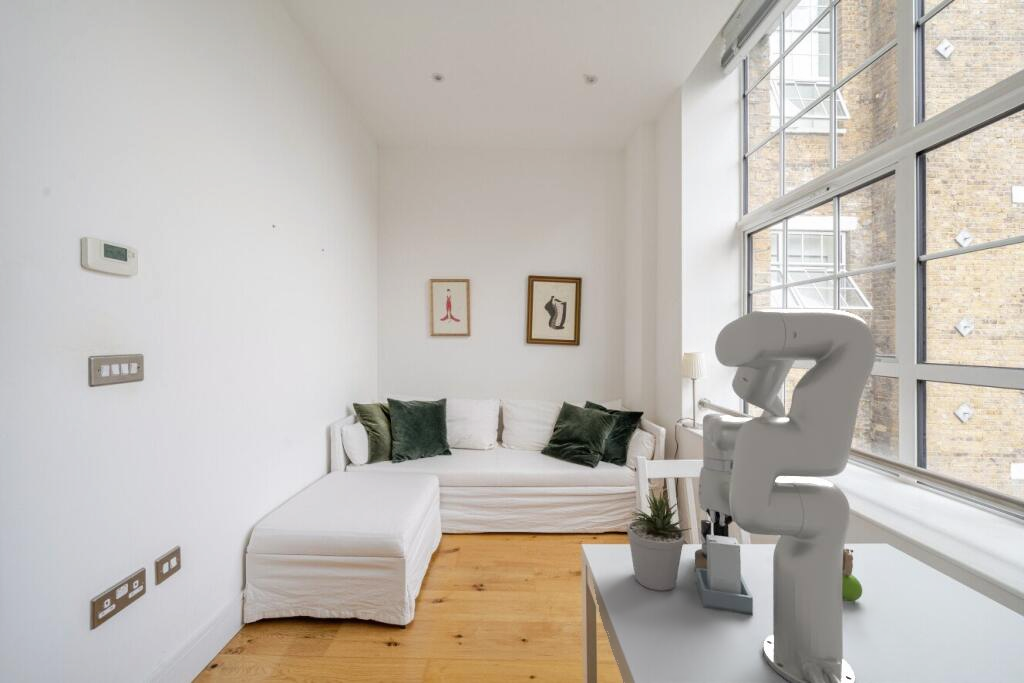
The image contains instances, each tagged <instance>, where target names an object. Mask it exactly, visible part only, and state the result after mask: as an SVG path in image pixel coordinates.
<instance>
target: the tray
mask: <svg viewBox="0 0 1024 683" xmlns="http://www.w3.org/2000/svg"><path fill="white" fill-rule="evenodd" d="M695 584H696V588H697V592H698V594H699V598H700V602H701V606H702V608H706V609H711V610H717V611H722V612H723V611H724V612H728V613H729V612H730V613H736V614H742V615H747V616H753V615H754V613H753V612H754V606H753V605H754V599H753V596H752V593H751V591H750V590H749V588H748V585H747V583H746V582H745V580H744V577H743V576H742V575H741V594H734V593H728V592H721V591H715V590H708V584H707V569H702V568H696V572H695Z"/></svg>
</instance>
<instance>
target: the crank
mask: <svg viewBox="0 0 1024 683" xmlns="http://www.w3.org/2000/svg"><path fill="white" fill-rule="evenodd" d="M706 535H712V522H711V520H707V519H701V520H700V540H701V543H702V544H701V549H702V555H703V556H704V557H705V558H707V538H706Z"/></svg>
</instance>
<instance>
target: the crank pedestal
mask: <svg viewBox="0 0 1024 683" xmlns="http://www.w3.org/2000/svg"><path fill="white" fill-rule="evenodd" d="M696 568H702V569H707V558H705V557H704V556H703V555H702V548H700V549H697V550H696V551H695V552H694V573H696Z"/></svg>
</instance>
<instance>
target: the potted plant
mask: <svg viewBox="0 0 1024 683" xmlns="http://www.w3.org/2000/svg"><path fill="white" fill-rule="evenodd" d="M659 493H660V495H659V499H657V497H656V496H655V494H654V491H653V489H651V494H652V495H651V496H652V498H651V497H650V496H649V495H647V494H645V497H646V500H647V502H648V504H649V506H648V505H647V506H646V507H647V508H648V509H650V510H651V512H652V513H650V515H648V514H647V513H646V512H644V511H642V510H640V509H639V508H636V510H637V511H638V512H634V511H631V513H632V514H631V516H632V515H633V516H634V517H638V518H635V519H632V520H631V521H630V522H628V524H627V525H626V531H627V536H628V540H629V547H630V553H631V559H632V566H633V572H634V577H635V580H637V583H639V584H640V585H641V586H644V587H645V588H647V589H650V590H654V591H668V590H671V589H673V588H674V587H675V586H676V584H677V583H676V582H677V581H678V573H679V568H680V563H681V562H680V561H681V555H682V550H683V545H684V542H685V537H686V536H685V531H690V530H691V529H692V528H691V527H689V528H684V529H683V528H682V529H681V528H680V527H678V525H680V523H681V522H682V520H683V518H681V519H680V520H678V521H677V522H673V523H671V519H672V518H673V516H674V515H675V514H676V512H677V510H678V509H675V510H674V511H673V512H672V509H673V508H674V507H676V506H677V505H678V504H680V501H679V502H677V503H675V504H674V505H673V506H671V507H670V505H669V501H670V499H668V490H666V494H665V493H662V491H660V492H659ZM664 496H665V498H664ZM666 508H668V510H667V512H665V511H666ZM639 512H640V513H639Z"/></svg>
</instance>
